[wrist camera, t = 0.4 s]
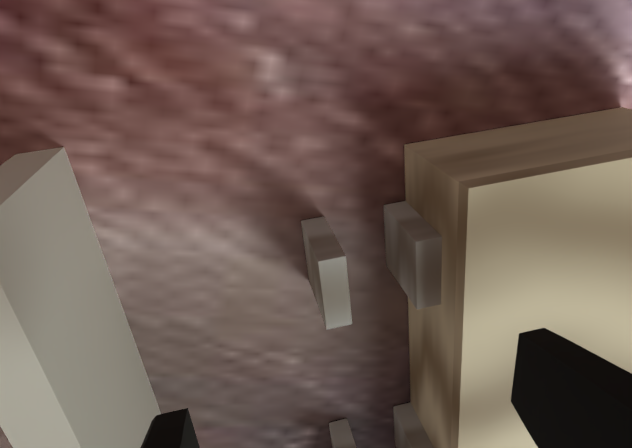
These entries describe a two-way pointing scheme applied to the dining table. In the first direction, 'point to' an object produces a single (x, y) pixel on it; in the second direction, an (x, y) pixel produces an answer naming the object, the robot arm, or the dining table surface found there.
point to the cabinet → (497, 267)
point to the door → (62, 319)
